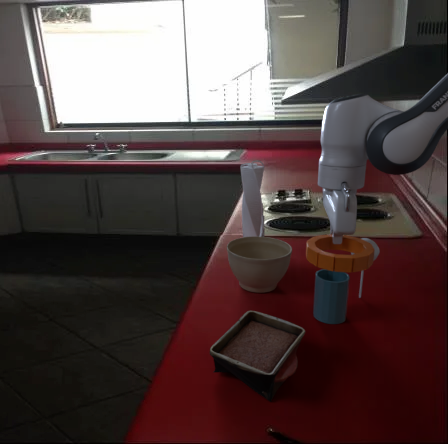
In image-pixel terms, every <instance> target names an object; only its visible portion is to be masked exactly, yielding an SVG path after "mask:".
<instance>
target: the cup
mask: <svg viewBox="0 0 448 444" xmlns="http://www.w3.org/2000/svg"><path fill="white" fill-rule="evenodd" d="M350 280H351V277H350V275H349V274H348V272H335V271H330V270H326V269H322V268H321V269H319V270H316V272H315V275H314V289H313V291H314V292H313V304H312V305H313V306H312V315H313V318H314V319H315V320H317V321H318V322H321V323H323V324H328V325H338V324H339V325H340V324H343V323H344V322H345V321H346V320H347V313H348V303H349V302H348V301H349V290H350Z"/></svg>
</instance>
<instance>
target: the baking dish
mask: <svg viewBox="0 0 448 444" xmlns="http://www.w3.org/2000/svg"><path fill="white" fill-rule="evenodd" d="M305 334H306V330H305V328H303V327H302V326H299V325H298V324H295V323H293V322H291V321H288V320H285V319H282V318H279V317H276V316H273V315H270V314H267V313H263V312H260V311H255V310H247V311H246V312H244V314H242V315H241V316H240V318H239V319H238V320H237V321H236V322H235V323H234V324H233V325H232V326H231V327H230V328H229V329H228V330H227V331H226V332H225V333H224V334H223V335H221V336H220V337H219V339H218V340H216V341H215V342H214V343H213V344H212V345H211V346H210V348H209V355H210V356H211V357H212V359H213V363H214V370H213V372H212V373H230V374H232V375H233V376H235V378H237V379H238V380H240V381H241V382H242V383H244V384H245V385H246V386H247V387H249V388H250V389H251V390H252V391H254V392H255V393H257V394H258V395H260V396H261V397H263V398H264V399H265V400H266V401H268V402H270V403H272V402H273V401H272V400H273V398H274V396H275V395H276V393H277V391H278V390H279V389H280V387H282V386H283V384H284V383H285V381H286V380H287V379H288V378H291V376H293V375H295V374H296V372H297V368H298V367H299V365H298V356H297V351H298V349H299V346H300V344H301V342H302V340H303V338H304V336H305Z"/></svg>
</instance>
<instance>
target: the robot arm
mask: <svg viewBox="0 0 448 444" xmlns="http://www.w3.org/2000/svg"><path fill="white" fill-rule="evenodd" d="M447 130H448V73H447V74H445V75H444V76H443V77H442V78H441V79H440V80H439V81H438V82H437V83H436V84H435V85H434V86H433V87H432V88H430V90H429V91H428V92H426V93H425V95H424V96H422V98H420V99H419V100H418V101H417V102H416V103H415V104H414V105H413V106H411V107H410V108H407V109H406V110H400V109H397V108H394V107H390V106H388V105H386V104H384V103H381V102H379V101H377V100H376V99H374V98H372V97H371V96H370V95H369V94H367V93H357V94H350V95H345V96H341V97H339V98H338V97H337V98H335V99H333V100H332V101H330V102H329V103H328V104H327V105H326V107H325V109H324V112H323V116H322V121H321V131H320V133H321V134H320V145H321V154H320V158H319V160H318V174H317V186H318V187H320V188H322V205H323V208H324V210H325V213H326V215H327V217H328V220H329V228H330V230H329V231H330V232H329V234H332V241H333V243H334V244H341V243H342V237H343V236H344V235H347V236H353V235H354V234H355V232H356V229H357V214H358V213H357V212H358V200H357V196H356V195H357V192H358V190H360V189H362V188H364V187H365V181H366V172H367V171H366V170H367V161H369V162H370V165H372V166H373V167H374V168H375V169H377V170H378V171H380V172H382V173H383V174H387V175H392V176H402V175H407V174H410V173H413V172H415V171H417V170H419V169H421V168H422V167H423V166H424V165H426V164H427V163H428V161H430V159H431V158H432V156H433V154H434V153H435V150H436V149H437V146H438V144H439V142H440V141H441V140H442V139H441V138H442V137H443V135H444V134H445V133H446V132H447Z"/></svg>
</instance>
